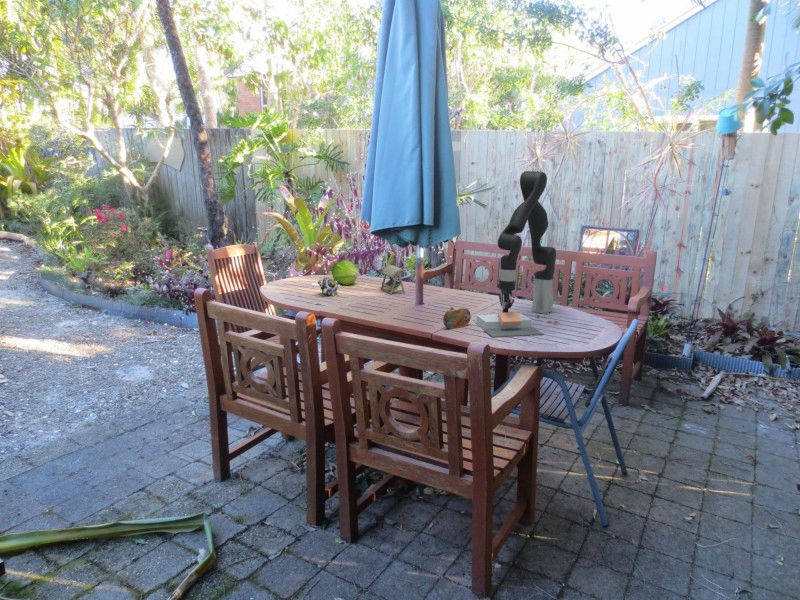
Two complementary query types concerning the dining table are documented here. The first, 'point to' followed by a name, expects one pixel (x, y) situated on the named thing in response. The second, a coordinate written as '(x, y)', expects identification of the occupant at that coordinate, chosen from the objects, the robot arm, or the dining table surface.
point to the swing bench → (392, 283)
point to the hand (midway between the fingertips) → (505, 316)
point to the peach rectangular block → (509, 318)
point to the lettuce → (344, 272)
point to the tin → (456, 318)
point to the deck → (493, 322)
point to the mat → (513, 332)
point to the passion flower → (329, 285)
